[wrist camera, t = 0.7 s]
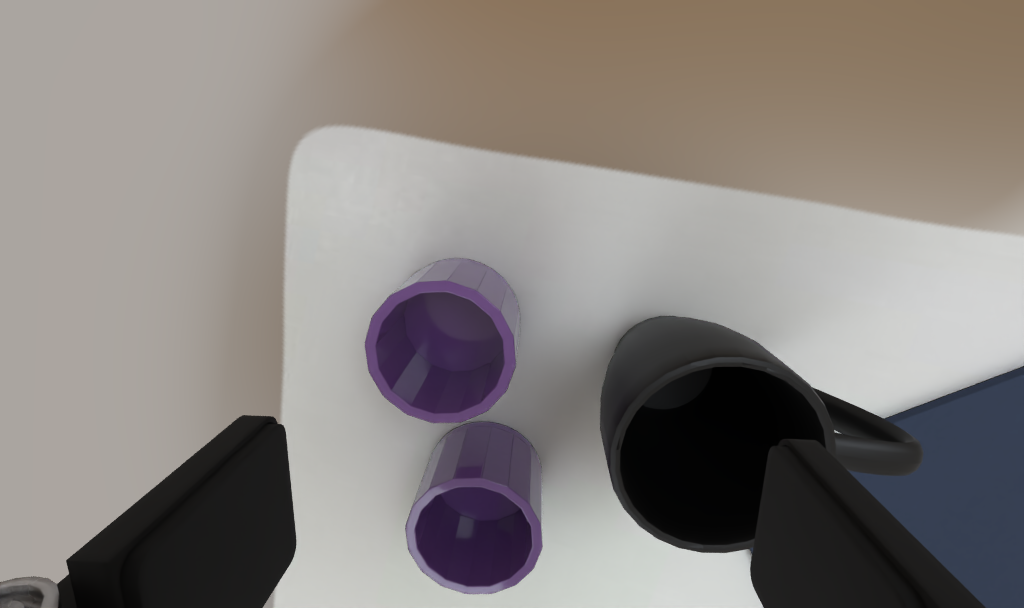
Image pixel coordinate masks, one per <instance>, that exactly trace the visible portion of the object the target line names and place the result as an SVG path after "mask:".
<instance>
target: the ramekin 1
mask: <svg viewBox="0 0 1024 608" xmlns="http://www.w3.org/2000/svg"><path fill="white" fill-rule="evenodd" d="M519 336H520V311H519V306H518V302H517V299H516V297H515V294H514V292H513V291H512V289H511V287H510V286H509V284H508V283H507V282H506V281H505V279H504V278H503V277H502V276H501V275H500V274H498V273H497V272H496V271H494V270H493V269H492V268H490V267H488V266H486V265H485V264H482V263H480V262H477V261H474V260H470V259H463V258H451V259H444V260H440V261H437V262H434V263H432V264H429V265H428V266H426V267H424V268H423V269H421V270H419V271H417V272H416V273H415V274H414V275H413V276H411V277H410V278H409V279H408V280H407V281H406V282H405V283H403V284H402V285H401V286H400V287H399V288H398V289H397V290H396V291H394V292H393V293H392V294H391V295H390V296H389V297H388V298H387V299H386V301H385V302H384V303H383V304H382V305H381V307H380V308H379V309H378V310H377V311H376V313H375V314H374V315H373V317H372V318H371V322H370V326H369V329H368V333H367V337H366V340H365V350H366V357H367V364H368V370H369V373H370V375H371V376H372V378H373V380H374V382H375V383H376V385H377V387H378V388H379V390H380V392H381V393H382V395H383V396H384V397H385V398H386V399H387V400H389V401H390V402H391V403H392V404H394V405H395V406H396V407H397V408H399V409H400V410H401V411H402V412H404V413H405V414H407V415H410V416H413V417H416V418H419V419H422V420H425V421H428V422H431V423H453V422H461V421H462V422H463V421H466V420H468V419H470V418H472V417H475V416H477V415H479V414H482V413H484V412H486V411H488V410H489V409H490V408H491V407H492V406H493V405H494V404H495V403H496V402H497V401H498V400H499V399H500V397H501V396H502V395H503V394H504V393H505V392H506V391H507V389H508V386H509V383H510V380H511V378H512V375H513V372H514V369H515V367H516V360H517V352H518V344H519Z"/></svg>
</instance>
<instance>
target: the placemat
mask: <svg viewBox="0 0 1024 608" xmlns="http://www.w3.org/2000/svg"><path fill="white" fill-rule="evenodd" d="M885 420H887V421H889V422H891V423H893V424H894V425H896V426H898V427H900V428H901V429H903V430H904V431H906V432H907V433H909V434H910V435H912V436H913V437H914V438H916V439H917V440H918V441H919V442H920V444H921V447H922V449H923V460H922V463H921V465H920V466H919V468H918V469H917V470H916V471H915V472H913V473H911V474H909V475H906V476H884V475H874V474H867V473H860V472H854V471H849V472H850V473H851V474H852V475H853V476H854V477H855V478H856V479H857V480H858V481H859V482H860V483H861V484H862V485H863V486H864V487H865V488H866V489H867V490H868V491H869V492H870V493H871V494H872V495H873V496H874V497H875V498H876V499H877V500H878V501H879V502H880V503H881V504H882V505H883V506H884V507H885V508H886V509H887V510H888V511H889V512H890V513H891V514H892V515H893V516H894V517H895V518H896V519H897V520H898V521H899V522H900V523H901V524H902V525H903V526H904V527H905V528H906V529H907V530H908V531H909V532H910V533H911V534H912V535H913V536H914V537H915V538H916V539H917V540H918V541H919V542H920V543H921V544H922V545H923V546H924V547H925V548H926V549H927V550H928V551H929V552H930V553H931V554H932V555H933V556H934V557H935V558H936V559H937V560H938V561H939V562H940V563H941V564H942V565H943V566H944V567H945V568H946V569H947V570H948V571H949V572H950V573H952V574H953V575H954V576H955V577H956V578H957V579H958V580H959V581H960V582H961V583H962V584H963V585H964V586H965V587H966V588H967V589H968V590H969V591H970V592H971V593H972V594H973V595H974V596H975V597H976V598H977V599H978V600H979V601H980V602H981V603H982V604H983V605H984V606H985V607H986V608H1024V367H1022V368H1019V369H1016V370H1014V371H1011V372H1008V373H1006V374H1003V375H1000V376H998V377H995V378H992V379H990V380H987V381H984V382H982V383H979V384H976V385H974V386H971V387H968V388H966V389H963V390H960V391H958V392H955V393H952V394H950V395H947V396H944V397H942V398H939V399H936V400H934V401H931V402H928V403H926V404H923V405H920V406H918V407H915V408H913V409H910V410H907V411H905V412H902V413H899V414H897V415H894V416H891V417H889V418H886V419H885ZM750 550H751V553H753V548H750Z"/></svg>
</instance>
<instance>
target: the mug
mask: <svg viewBox="0 0 1024 608" xmlns="http://www.w3.org/2000/svg"><path fill="white" fill-rule="evenodd" d="M834 430H836V431H838V432H840V433H842V434H839V433H834ZM600 431H601V436H602V441H603V446H604V450H605V455H606V460H607V464H608V469H609V473H610V477H611V481H612V485H613V489H614V491H615V493H616V495H617V497H618V499H619V501H620V503H621V504H622V506H623V508H624V509H625V510H626V511H627V513H628V514H629V515H630V516H631V517H632V518H633V519H634V520H635V521H636V523H637V524H638V525H639V526H640V527H642V528H643V529H644V530H646V531H647V532H649V533H650V534H652V535H653V536H654V537H656V538H657V539H659V540H662V541H664V542H666V543H669V544H671V545H673V546H676V547H678V548H682V549H687V550H692V551H697V552H702V553H727V552H733V551H739V550H745V549H750V548H753V547H754V540H755V534H756V528H757V522H758V515H759V509H760V503H761V496H762V490H763V484H764V477H765V471H766V465H767V459H768V453H769V450H770V448H771V447H772V446H778V444H779V442H780V441H781V440H782V439H800V440H816V441H818V442H819V443H820V444H821V445H822V446H823V447H824V448H825V449H826V450H827V451H828V452H829V453H830V454H831V455H832V456H833V457H834V458H835V459H836V460H837V461H838V462H839V463H841V464H842V465H843V466H844V467H845V468H846V469H847V470H848V471H854V472H860V473H867V474H874V475H884V476H906V475H909V474H911V473H913V472H915V471H916V470H917V469H918V468H919V466H920V465H921V463H922V460H923V449H922V447H921V444H920V442H919V441H918V440H917V439H916V438H914V437H913V436H912V435H910V434H909V433H907V432H906V431H904V430H903V429H901V428H900V427H898V426H896V425H894V424H893V423H891V422H889V421H887V420H885V419H883V418H881V417H879V416H877V415H875V414H872V413H870V412H868V411H866V410H864V409H861V408H859V407H857V406H855V405H852V404H850V403H848V402H845V401H843V400H841V399H838V398H836V397H834V396H831V395H829V394H827V393H824V392H822V391H820V390H817V389H815V388H813V387H811V386H810V385H809V384H808V383H807V382H806V381H805V380H803V379H802V378H801V377H800V376H799V375H797V374H796V373H795V372H794V371H793V370H791V369H790V368H789V367H788V366H787V365H785V364H784V363H783V362H782V361H780V360H779V359H778V358H777V357H775V356H774V355H773V354H771V353H770V352H769V351H768V350H766V349H765V348H764V347H762V346H761V345H760V344H759V343H757V342H756V341H754V340H752V339H750V338H748V337H746V336H744V335H742V334H740V333H738V332H735V331H733V330H731V329H729V328H727V327H724V326H721V325H719V324H716V323H712V322H707V321H703V320H698V319H693V318H685V317H675V316H659V317H655V318H650V319H647V320H645V321H643V322H641V323H639V324H637V325H636V326H634V327H633V328H632V329H630V330H629V331H628V332H627V333H626V334H625V335H624V336H623V338H622V339H621V340H620V342H619V344H618V345H617V347H616V349H615V352H614V355H613V357H612V359H611V361H610V363H609V365H608V369H607V372H606V376H605V380H604V383H603V387H602V393H601V407H600Z"/></svg>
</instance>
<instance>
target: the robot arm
mask: <svg viewBox="0 0 1024 608" xmlns="http://www.w3.org/2000/svg"><path fill="white" fill-rule="evenodd" d="M295 550H296V532H295V522H294V512H293V501H292V491H291V481H290V471H289V461H288V451H287V441H286V432H285V428H284V426H283V425H282V424H278V423H277V421H276V419H275V418H274V417H271V416H247V415H243V416H241V417H239V418H238V419H237V420H235V421H234V422H233V423H232V424H231V425H229V426H228V427H227V428H226V429H224V430H223V431H222V432H221V433H220V434H218V435H217V436H216V437H215V438H214V439H212V440H211V441H210V442H209V443H207V445H205V446H204V447H203V448H201V449H200V450H199V451H198V452H197V453H195V454H194V455H193V456H192V457H191V458H189V459H188V460H187V461H186V462H185V463H183V464H182V465H181V466H180V467H179V468H177V469H176V470H175V471H174V472H172V473H171V474H170V475H169V476H168V477H166V478H165V479H164V480H163V481H162V482H160V483H159V484H158V485H157V486H156V487H155V488H153V489H152V490H151V491H150V492H148V493H147V494H146V495H145V496H143V497H142V498H141V499H140V500H139V501H138V502H136V503H135V504H134V505H133V506H131V507H130V508H129V509H128V510H127V511H125V512H124V513H123V514H122V515H121V516H119V517H118V518H117V519H116V520H114V521H113V522H112V523H111V524H110V525H108V526H107V527H106V528H105V529H104V530H102V531H101V532H100V533H99V534H98V535H96V536H95V537H94V538H93V539H91V540H90V541H89V542H88V543H87V544H85V545H84V546H83V547H82V548H81V549H80V550H79V551H77V552H76V553H75V554H73V555H72V556H71V557H70V558H69V559H67V560H66V562H67V566H68V570H69V575H67V576H66V577H65V578H64V579H63V580H62V581H60V582H59V583H58V584H56V583H54V582H53V581H51V580H50V579H48V578H42V577H34V576H33V577H23V578H15V579H12V580H7V581H3V582H0V608H263V606H264V604H265V603H266V601H267V600H268V598H269V596H270V595H271V593H272V592H273V590H274V589H275V587H276V586H277V584H278V582H279V581H280V579H281V578H282V576H283V574H284V573H285V571H286V570H287V568H288V567H289V565H290V563H291V562H292V560H293V557H294V554H295ZM750 572H751V580H752V584H753V587H754V589H755V591H756V593H757V595H758V597H759V599H760V601H761V603H762V605H763V607H764V608H986V607H985V606H984V605H983V604H982V603H981V602H980V601H979V600H978V599H977V598H976V597H975V596H974V595H973V594H972V593H971V592H970V591H969V590H968V589H967V588H966V587H965V586H964V585H963V584H962V583H961V582H960V581H959V580H958V579H957V578H956V577H955V576H954V575H953V574H952V573H950V572H949V571H948V570H947V569H946V568H945V567H944V566H943V565H942V564H941V563H940V562H939V561H938V560H937V559H936V558H935V557H934V556H933V555H932V554H931V553H930V552H929V551H928V550H927V549H926V548H925V547H924V546H923V545H922V544H921V543H920V542H919V541H918V540H917V539H916V538H915V537H914V536H913V535H912V534H911V533H910V532H909V531H908V530H907V529H906V528H905V527H904V526H903V525H902V524H901V523H900V522H899V521H898V520H897V519H896V518H895V517H894V516H893V515H892V514H891V513H890V512H889V511H888V510H887V509H886V508H885V507H884V506H883V505H882V504H881V503H880V502H879V501H878V500H877V499H876V498H875V497H874V496H873V495H872V494H871V493H870V492H869V491H868V490H867V489H866V488H865V487H864V486H863V485H862V484H861V483H860V482H859V481H858V480H857V479H856V478H855V477H854V476H853V475H852V474H851V473H850V472H849V471H848V470H847V469H846V468H845V467H844V466H843V465H842V464H841V463H839V462H838V461H837V460H836V459H835V458H834V457H833V456H832V455H831V454H830V453H829V452H828V451H827V450H826V449H825V448H824V447H823V446H822V445H821V444H820V443H819V442H818V441H816V440H800V439H782V440H781V441H780V442H779V444H778V446H772V447H771V448H770V450H769V453H768V459H767V465H766V471H765V477H764V484H763V490H762V496H761V503H760V509H759V515H758V522H757V528H756V534H755V540H754V547H753V553H752V559H751V567H750Z"/></svg>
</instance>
